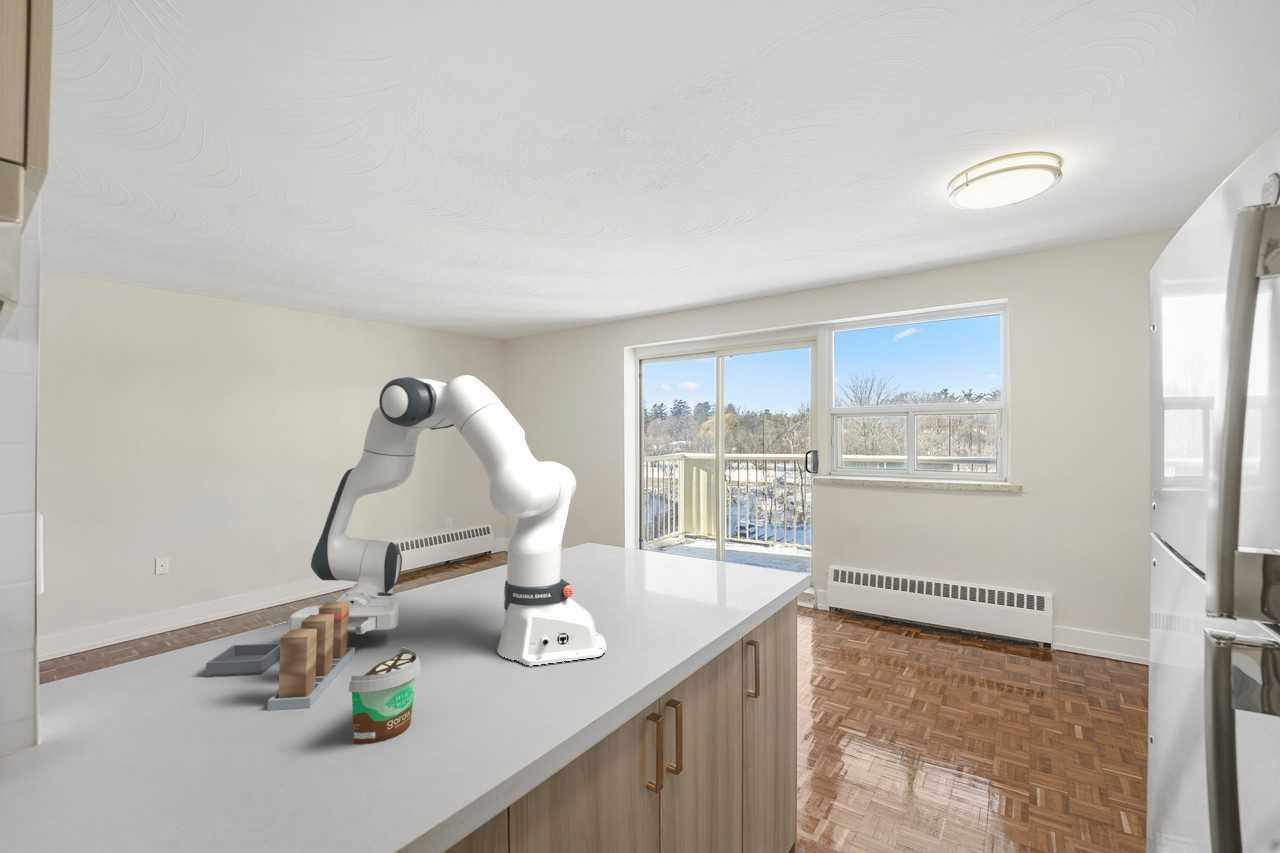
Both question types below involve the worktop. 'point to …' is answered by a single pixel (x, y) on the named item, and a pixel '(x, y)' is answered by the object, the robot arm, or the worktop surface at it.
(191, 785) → the worktop surface
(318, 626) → the plain cartridge
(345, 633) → the block
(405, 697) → the food container
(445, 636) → the worktop surface
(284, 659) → the plain cartridge
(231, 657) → the tray
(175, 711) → the worktop surface
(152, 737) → the worktop surface
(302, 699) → the holder
